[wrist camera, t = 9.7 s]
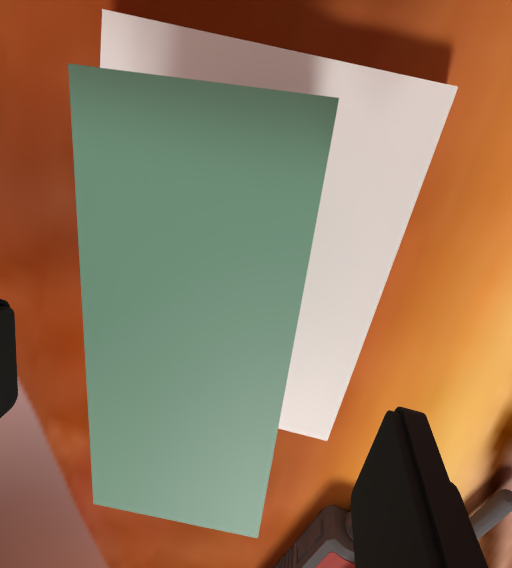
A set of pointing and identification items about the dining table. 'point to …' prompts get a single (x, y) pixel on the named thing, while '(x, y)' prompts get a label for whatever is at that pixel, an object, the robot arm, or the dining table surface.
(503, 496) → the walkie-talkie
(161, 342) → the green boxy piece
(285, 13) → the dining table surface
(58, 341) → the dining table surface
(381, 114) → the standoff plate
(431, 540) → the robot arm
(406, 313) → the dining table surface
